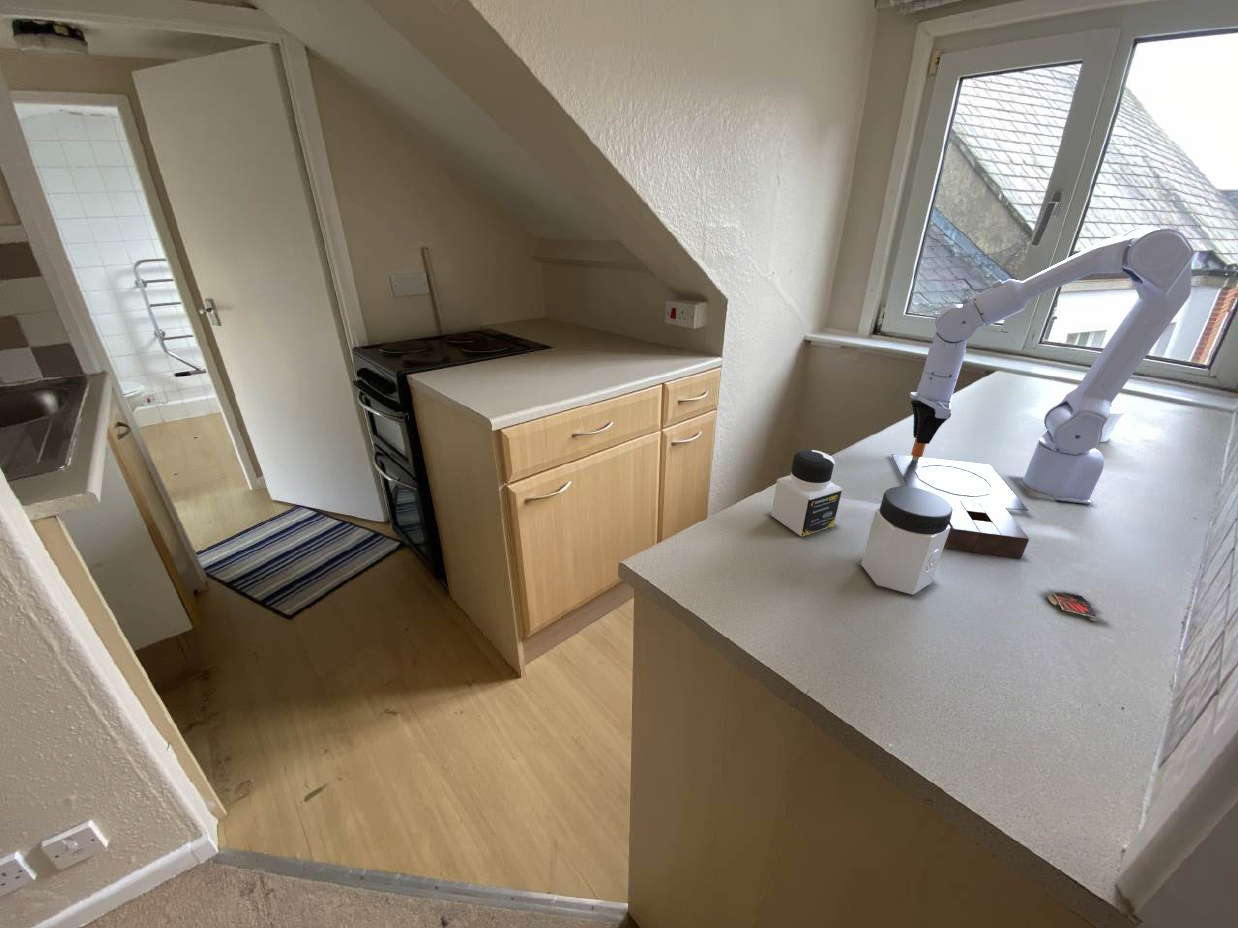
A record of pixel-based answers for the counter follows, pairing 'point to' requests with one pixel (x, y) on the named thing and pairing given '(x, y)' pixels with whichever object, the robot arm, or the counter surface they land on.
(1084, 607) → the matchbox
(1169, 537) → the counter surface
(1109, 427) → the shot glass
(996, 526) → the pen stand
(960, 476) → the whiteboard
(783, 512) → the medicine bottle
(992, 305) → the robot arm
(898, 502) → the jar
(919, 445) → the marker
